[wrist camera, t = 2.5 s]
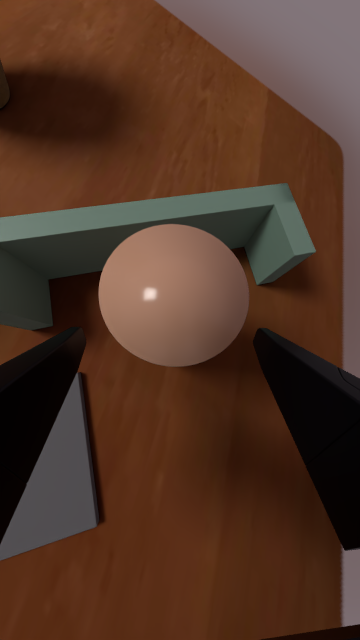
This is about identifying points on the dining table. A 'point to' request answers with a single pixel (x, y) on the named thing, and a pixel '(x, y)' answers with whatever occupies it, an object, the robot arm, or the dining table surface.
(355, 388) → the robot arm
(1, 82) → the plant pot
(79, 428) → the mat
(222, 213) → the green bracket handle
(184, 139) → the dining table surface
